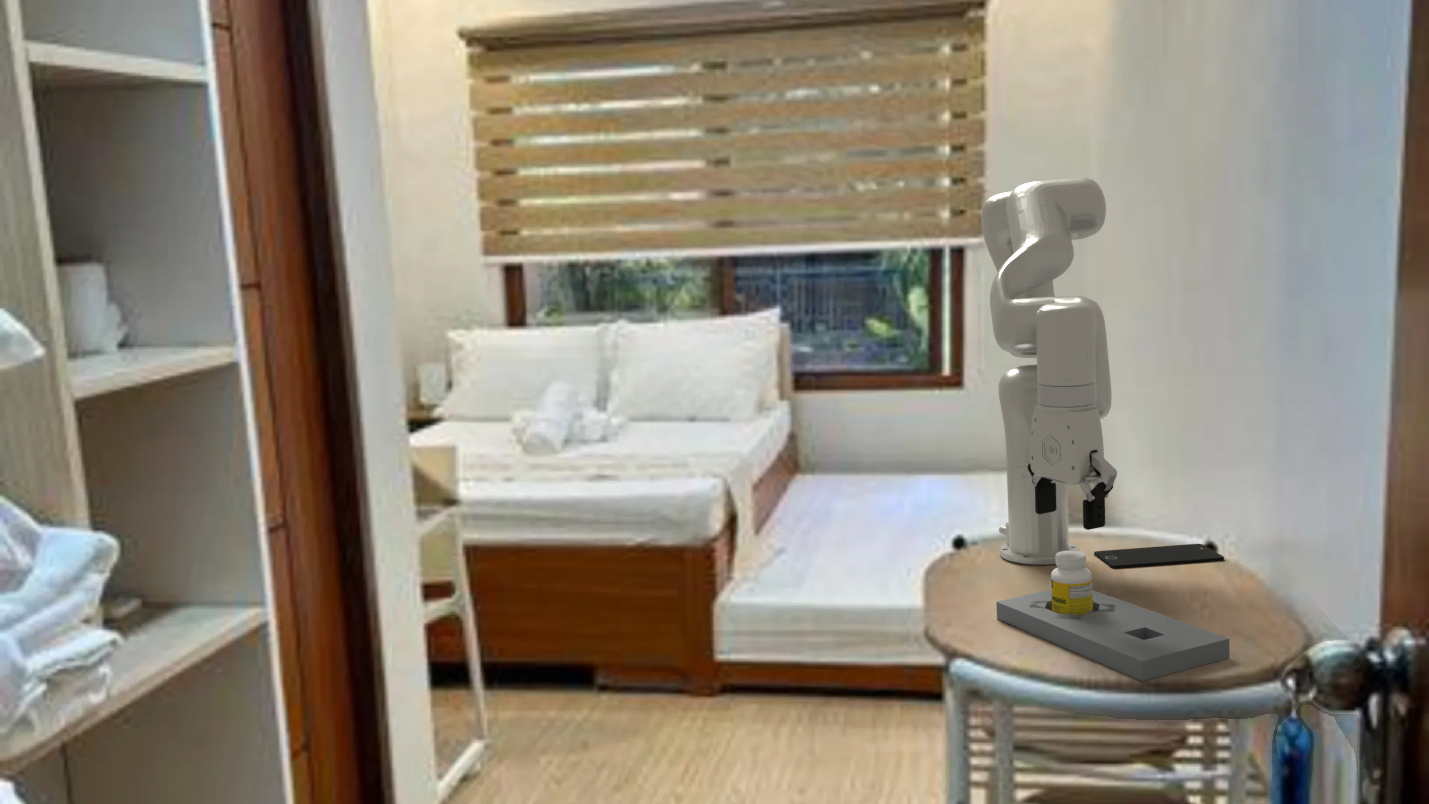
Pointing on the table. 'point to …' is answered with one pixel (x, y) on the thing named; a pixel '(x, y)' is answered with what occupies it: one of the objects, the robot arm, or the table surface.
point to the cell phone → (1158, 556)
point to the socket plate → (1118, 634)
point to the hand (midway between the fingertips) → (1069, 519)
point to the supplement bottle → (1071, 584)
